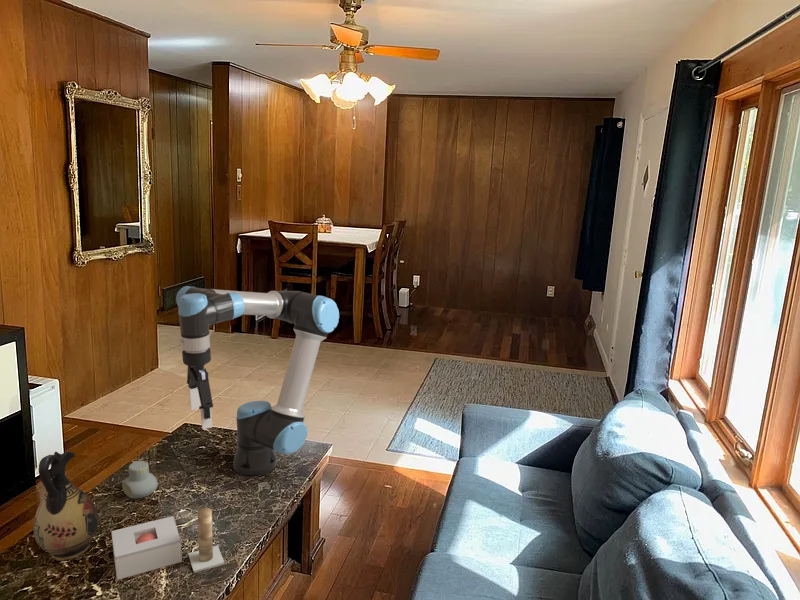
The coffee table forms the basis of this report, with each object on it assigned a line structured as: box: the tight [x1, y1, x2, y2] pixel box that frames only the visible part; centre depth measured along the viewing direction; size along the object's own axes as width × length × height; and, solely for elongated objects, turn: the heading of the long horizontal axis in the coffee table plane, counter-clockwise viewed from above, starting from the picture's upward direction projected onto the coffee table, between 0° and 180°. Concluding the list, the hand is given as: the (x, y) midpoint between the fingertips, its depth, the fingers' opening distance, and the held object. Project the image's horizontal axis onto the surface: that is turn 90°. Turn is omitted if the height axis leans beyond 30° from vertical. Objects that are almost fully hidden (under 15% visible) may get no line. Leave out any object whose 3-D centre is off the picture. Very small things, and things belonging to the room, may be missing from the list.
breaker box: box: [111, 516, 183, 581], centre depth 163 cm, size 16×12×7 cm
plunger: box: [137, 533, 155, 544], centre depth 163 cm, size 4×4×5 cm
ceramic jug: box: [33, 451, 99, 562], centre depth 161 cm, size 17×15×30 cm
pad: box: [187, 544, 225, 574], centre depth 164 cm, size 8×8×1 cm
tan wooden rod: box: [197, 507, 214, 562], centre depth 162 cm, size 4×4×14 cm
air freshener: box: [121, 460, 159, 499], centre depth 192 cm, size 11×8×10 cm
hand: (201, 418), depth 173 cm, fingers open, 13 cm apart
